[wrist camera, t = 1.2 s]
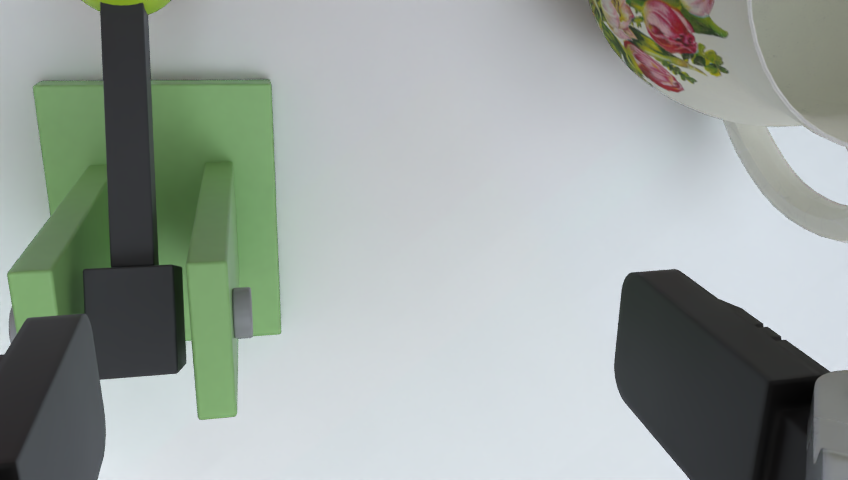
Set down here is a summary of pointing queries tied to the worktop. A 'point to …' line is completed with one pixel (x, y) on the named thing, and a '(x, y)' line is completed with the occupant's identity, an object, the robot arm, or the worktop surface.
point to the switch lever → (132, 214)
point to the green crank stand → (166, 215)
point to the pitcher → (748, 79)
